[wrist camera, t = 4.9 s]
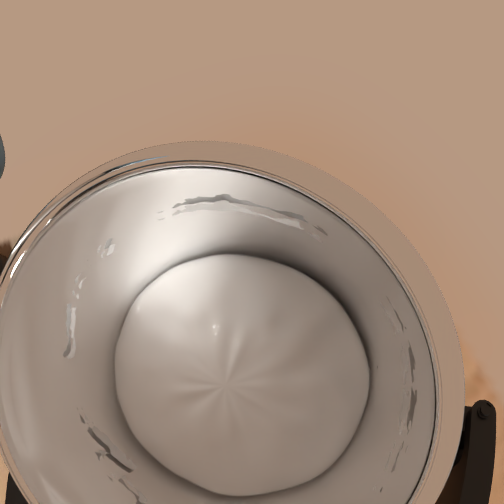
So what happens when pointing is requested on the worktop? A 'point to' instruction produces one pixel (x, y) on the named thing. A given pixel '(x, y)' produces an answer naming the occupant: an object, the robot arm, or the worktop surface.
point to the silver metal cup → (223, 340)
